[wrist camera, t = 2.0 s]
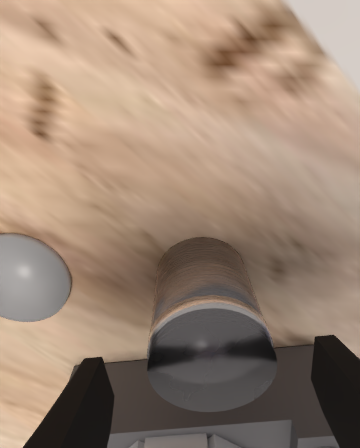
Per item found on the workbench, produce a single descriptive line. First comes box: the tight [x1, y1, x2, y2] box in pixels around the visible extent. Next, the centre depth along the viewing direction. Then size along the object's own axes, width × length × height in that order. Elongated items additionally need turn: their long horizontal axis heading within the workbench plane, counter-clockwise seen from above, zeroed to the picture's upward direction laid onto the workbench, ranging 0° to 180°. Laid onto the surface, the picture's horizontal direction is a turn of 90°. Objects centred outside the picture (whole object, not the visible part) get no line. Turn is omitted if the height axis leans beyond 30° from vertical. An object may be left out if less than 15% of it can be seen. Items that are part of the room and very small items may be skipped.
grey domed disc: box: [0, 233, 71, 322], centre depth 15 cm, size 5×5×1 cm
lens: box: [147, 237, 277, 412], centre depth 13 cm, size 4×4×6 cm
